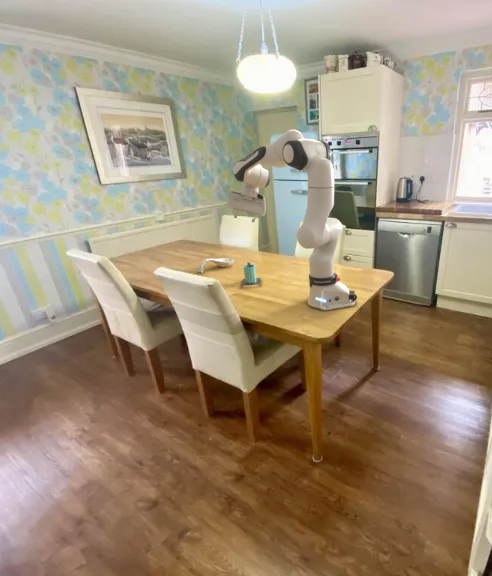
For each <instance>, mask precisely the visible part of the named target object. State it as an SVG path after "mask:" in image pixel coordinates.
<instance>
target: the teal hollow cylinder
mask: <svg viewBox="0 0 492 576" xmlns="http://www.w3.org/2000/svg"><path fill="white" fill-rule="evenodd" d="M250 264H251V267H250V268H248V264H245V265H243V273H244V279H245V282H246V283H248V284H251V283H255V282H257V279H256V278H257V271H256V265H255V264H252V263H250Z"/></svg>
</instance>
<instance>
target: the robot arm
mask: <svg viewBox="0 0 492 576" xmlns="http://www.w3.org/2000/svg"><path fill="white" fill-rule="evenodd" d="M331 159H332V148H331V146H330V144H329V143H327V142H326V141H324V140H320V139H311V138H305V137H304V135H303V134H302V132H301V131H299V130H297V129H290V130H287V131H286V132H285V133H283V134H282V135H281V136H279V137H278V138H277V139H276V140H275V141H273V142H272V143H270V144H267V145H264V146H259V147H258V148H256V149H255V150H253V151H252V152H251V153H250V154H248V155H246V156H245V157H244V158H242V159H239V160H238V161H236V162H235V164H234V166H233V168H232V169H233V170H232V174H233V177H234V178H235V180H236V181H237V182H242V183H243V184H242V186H241V190H240V191H236V190H229V191H228V194H227V195H228V196H227V197H228V199H227V203H226V207H227V208H228V209H232V212H233V218H234V219H238V214H236V212H237V211H239V212H245V213H249V214H253V215H254V216H255V217H254V218H252V217H251V223H255V222H256V220H257V219H258V218H259V216H262V217H264V216H265V215H266V212H267V211H266V210H267V204H266V196H265V195H263V194H261V193H259V192H260V189H265V188H267V187H269V186H270V183H271V180H272V179H271V178H272V177H271V173H270V171H269V170H268V169H266V168H263V165H266V166H270V167H275V168H277V169H278V168H279V169H282V168H287V167H291V168H293V169H295V170H297V171H299V172H301V171H303V170H304V171H305V173H306V174H307V203H306V211H305V215H304V218H303V221H302V223H301V225H300V226H299V228H298V229H297V231H296V240H297V242H298V245H300V247H301V248H303V249H306V250H309V249H312V250H313V251H312V252H311V254H310V256H309V258H308V259H309V260H308V262H309V266H308V267H309V273H308V286H309V293H308V298H307V305H309V306H310V307H312V308H314V309H319V310H321V311H330V310H331V311H332V310H335V309H337V310H338V309H342V308H349V307H353V306H355V304H356V300H357V299H358V296H357V294H356V292H355V291H356V290H349V287H347V285H346V284H344V283H343V282H341V277H340V276H339V275H338V274H337V273H336V272H335V268H334V267H335V265H334V263H335V254H336V249H337V245H338V242H339V239H340V237H341V236H342V235H343V230H344V229H343V224H342V222H341V221H340V220H339V219H338V218H336V217H329V215H330V214H331V211H332V210H333V208H334V206H335V173H334V171H335V170H334V166H333V163H332V161H331Z"/></svg>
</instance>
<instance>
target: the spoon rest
mask: <svg viewBox="0 0 492 576" xmlns="http://www.w3.org/2000/svg"><path fill="white" fill-rule="evenodd" d="M208 262H211V263H214V264H216V265H217V266H218V267H220V268H229V267H230V266H232V265H233V264H234V263H235V259H234V258H229V257H224V258H205V259H203V260H202V261H200V263H199V265H198V267H197V272H199V273H200V274H203V273H204V272H203V267H204V265H205V264H206V263H208Z"/></svg>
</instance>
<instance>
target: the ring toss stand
mask: <svg viewBox="0 0 492 576" xmlns="http://www.w3.org/2000/svg"><path fill="white" fill-rule="evenodd" d="M251 264H252V263H251V262H250V261H249V262H247V264H246V265H248V268H250V267H251ZM256 279H257V282H255V283H251V284H248V283H246V282H245V278H242V280H241V284H240V286H256V285H258V286H259V285H261V279H262V278H261V277H256Z"/></svg>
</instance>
